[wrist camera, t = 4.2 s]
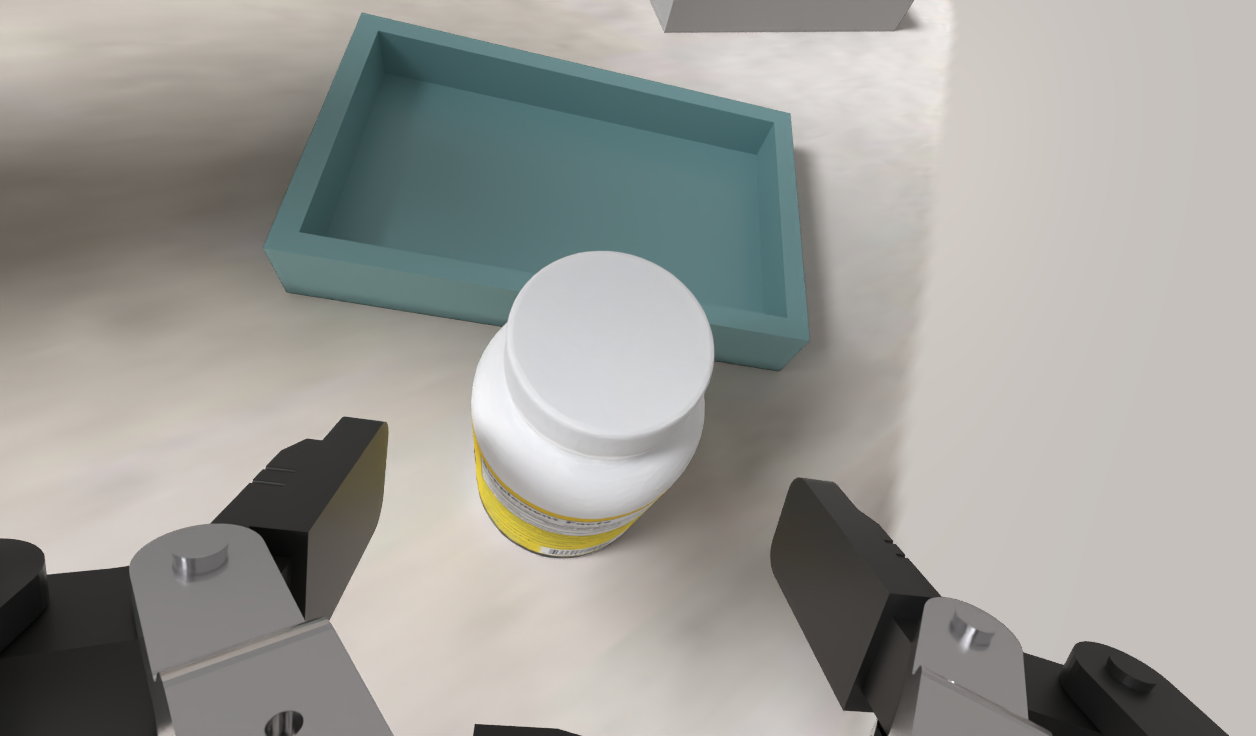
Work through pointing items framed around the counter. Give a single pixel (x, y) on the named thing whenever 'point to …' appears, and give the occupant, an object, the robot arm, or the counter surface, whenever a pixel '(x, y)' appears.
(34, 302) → the counter surface
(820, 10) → the gray beveled slab
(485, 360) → the supplement bottle
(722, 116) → the tray
